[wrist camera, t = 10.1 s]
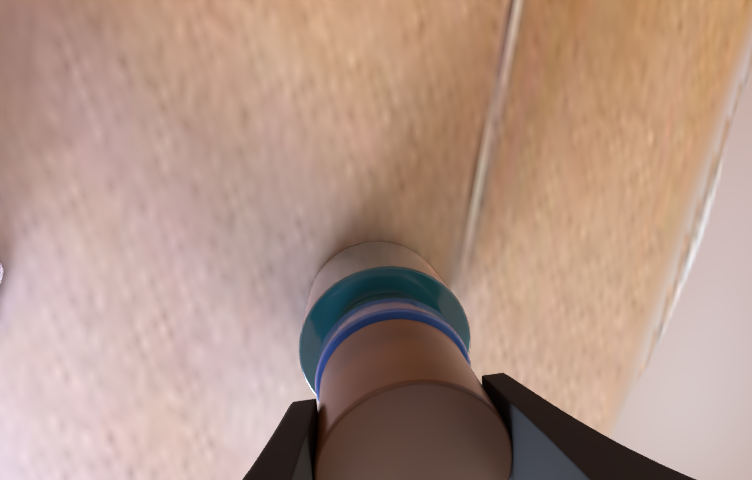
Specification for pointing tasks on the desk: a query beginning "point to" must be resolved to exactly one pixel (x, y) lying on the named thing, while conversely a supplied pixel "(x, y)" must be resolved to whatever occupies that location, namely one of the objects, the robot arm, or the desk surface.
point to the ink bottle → (374, 301)
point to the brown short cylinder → (406, 410)
